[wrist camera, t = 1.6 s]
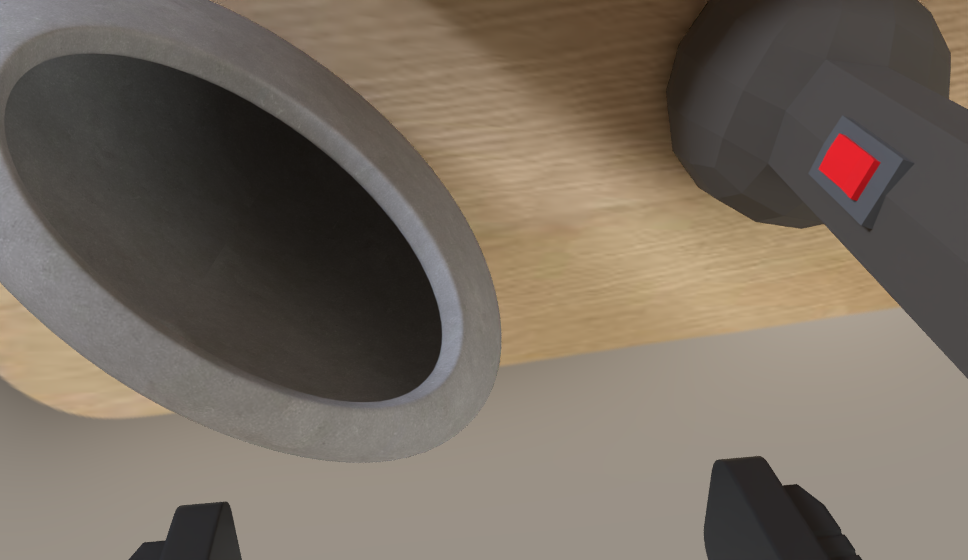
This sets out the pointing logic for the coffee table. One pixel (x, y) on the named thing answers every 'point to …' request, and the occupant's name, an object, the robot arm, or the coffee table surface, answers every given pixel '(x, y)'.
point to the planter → (236, 231)
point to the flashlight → (836, 138)
